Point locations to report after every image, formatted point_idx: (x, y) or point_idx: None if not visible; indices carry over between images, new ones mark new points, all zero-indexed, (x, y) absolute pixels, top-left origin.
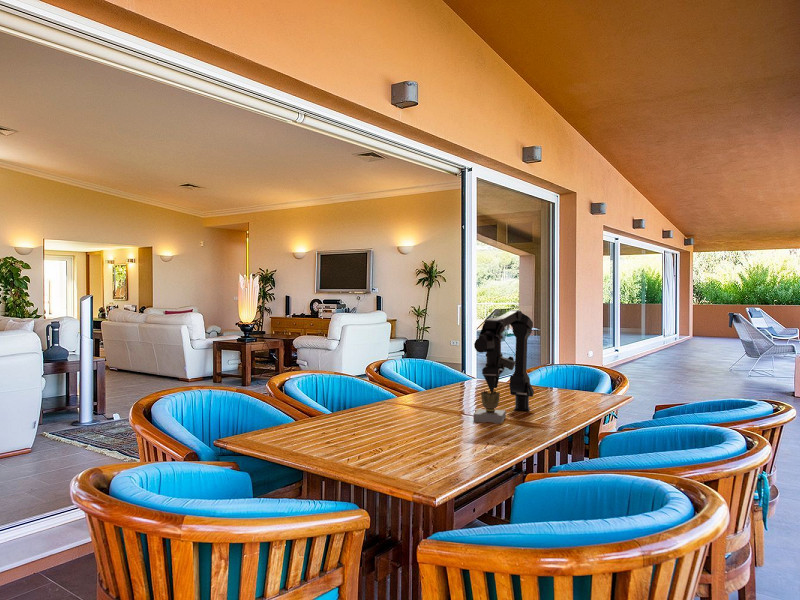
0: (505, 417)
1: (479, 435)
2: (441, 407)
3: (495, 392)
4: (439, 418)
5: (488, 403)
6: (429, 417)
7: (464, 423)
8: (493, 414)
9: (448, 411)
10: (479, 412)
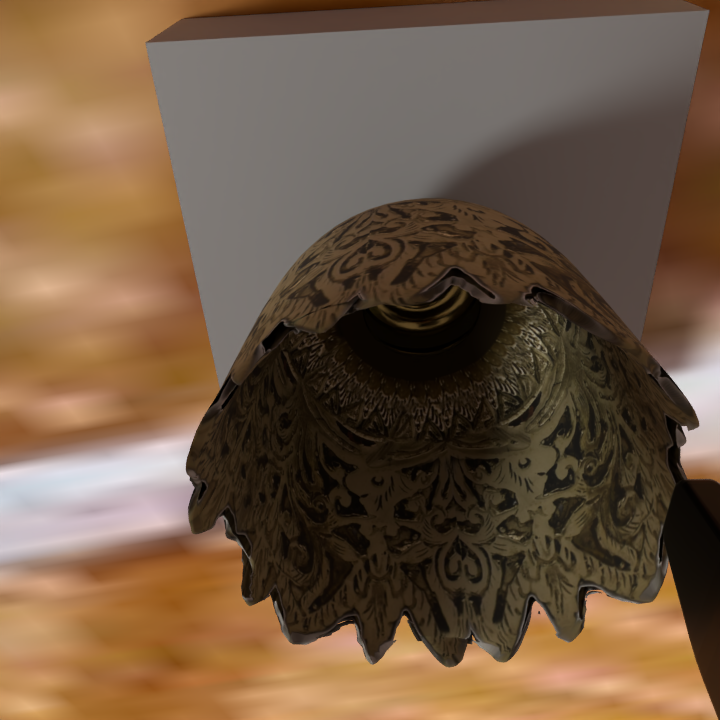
0: (204, 19)
1: None
2: (32, 702)
3: (220, 423)
4: None
5: (600, 372)
6: (489, 695)
7: (707, 441)
8: (608, 188)
9: (166, 641)
10: None
